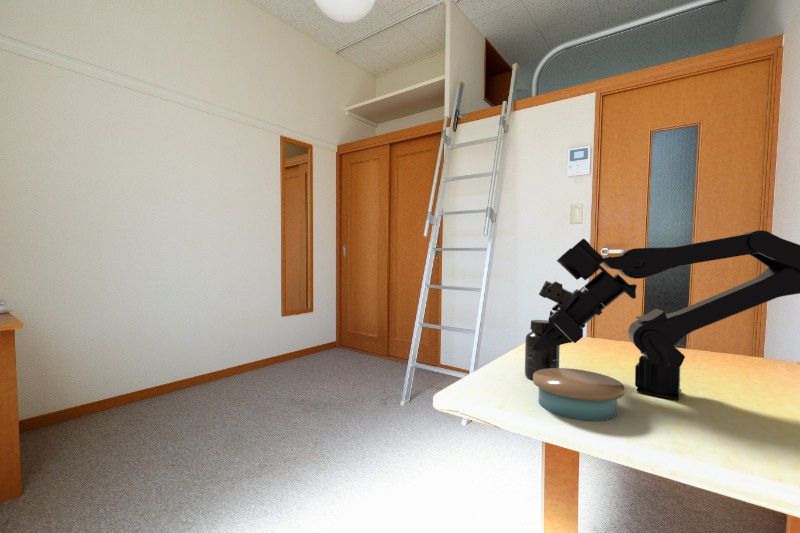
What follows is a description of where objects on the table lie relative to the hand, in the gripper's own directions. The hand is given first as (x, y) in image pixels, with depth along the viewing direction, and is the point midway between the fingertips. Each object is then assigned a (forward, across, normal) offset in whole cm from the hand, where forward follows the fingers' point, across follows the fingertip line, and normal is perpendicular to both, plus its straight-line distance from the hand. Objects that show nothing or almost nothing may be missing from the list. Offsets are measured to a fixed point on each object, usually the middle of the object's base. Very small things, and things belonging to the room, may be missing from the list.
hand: (535, 345), depth 80 cm
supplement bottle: (+4, 0, +6) cm, 7 cm away
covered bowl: (-1, +14, +10) cm, 18 cm away
